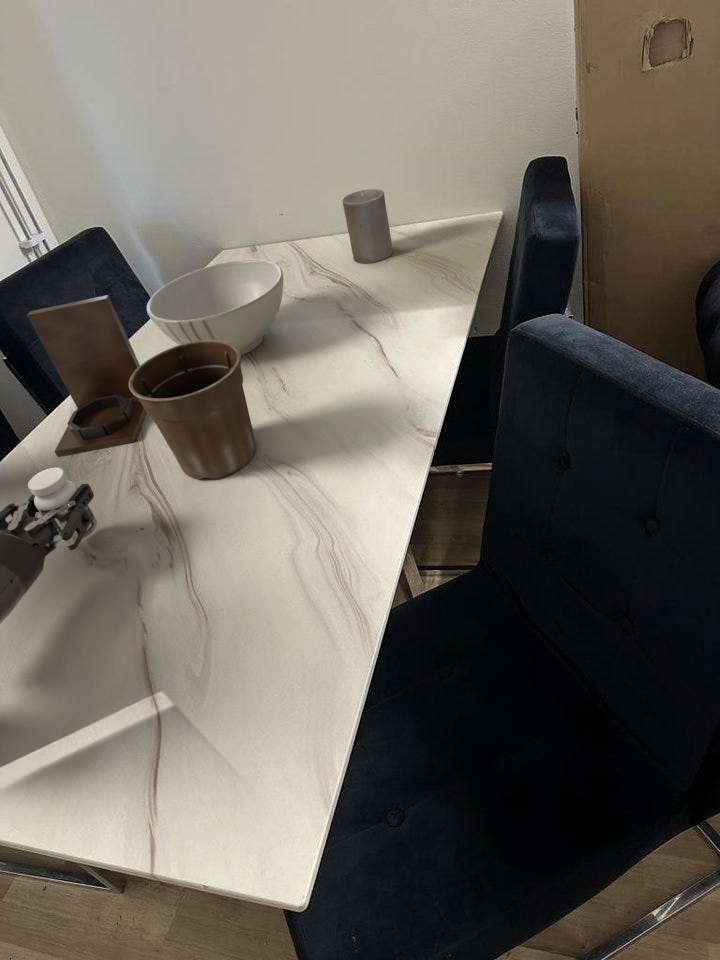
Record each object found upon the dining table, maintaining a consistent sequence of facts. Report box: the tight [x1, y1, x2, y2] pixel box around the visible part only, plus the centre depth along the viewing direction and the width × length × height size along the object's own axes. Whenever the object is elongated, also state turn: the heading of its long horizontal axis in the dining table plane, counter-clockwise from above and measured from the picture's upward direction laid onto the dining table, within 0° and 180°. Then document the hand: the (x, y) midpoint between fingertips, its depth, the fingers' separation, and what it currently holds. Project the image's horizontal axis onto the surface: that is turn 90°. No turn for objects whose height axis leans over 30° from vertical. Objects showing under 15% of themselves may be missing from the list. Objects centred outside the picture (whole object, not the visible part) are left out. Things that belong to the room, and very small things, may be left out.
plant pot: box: [129, 340, 257, 481], centre depth 99 cm, size 16×16×16 cm
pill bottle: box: [27, 467, 99, 545], centre depth 89 cm, size 6×6×10 cm
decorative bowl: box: [146, 259, 284, 356], centre depth 131 cm, size 27×27×12 cm
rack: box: [26, 294, 148, 457], centre depth 113 cm, size 14×15×20 cm
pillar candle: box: [342, 188, 394, 264], centre depth 153 cm, size 10×10×15 cm
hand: (68, 488), depth 91 cm, fingers closed on pill bottle, 5 cm apart
